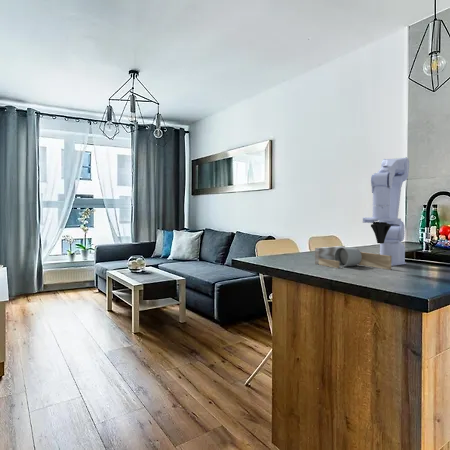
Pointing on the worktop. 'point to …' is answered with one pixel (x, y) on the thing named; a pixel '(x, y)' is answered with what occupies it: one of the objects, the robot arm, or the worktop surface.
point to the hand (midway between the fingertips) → (380, 243)
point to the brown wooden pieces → (368, 259)
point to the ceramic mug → (347, 256)
